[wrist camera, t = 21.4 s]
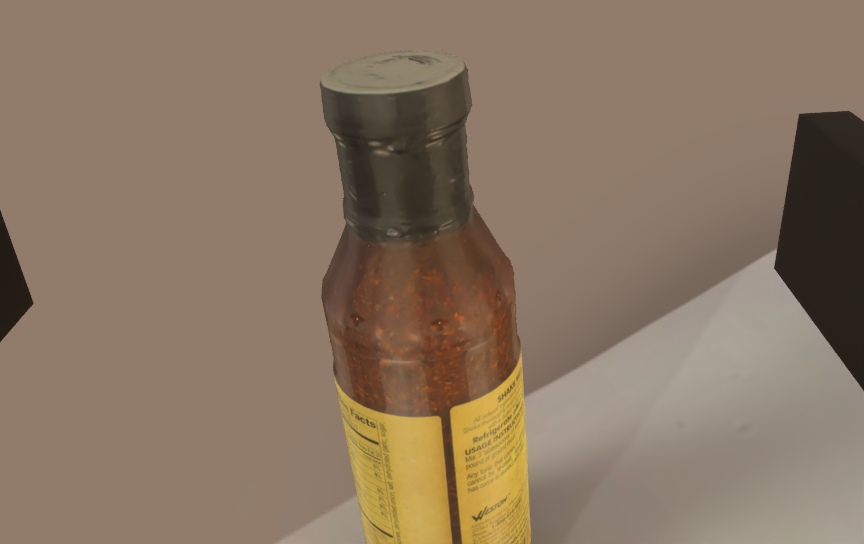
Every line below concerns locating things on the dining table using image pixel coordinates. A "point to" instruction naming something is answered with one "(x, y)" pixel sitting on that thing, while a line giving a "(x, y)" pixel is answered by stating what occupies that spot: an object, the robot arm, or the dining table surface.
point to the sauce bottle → (422, 312)
